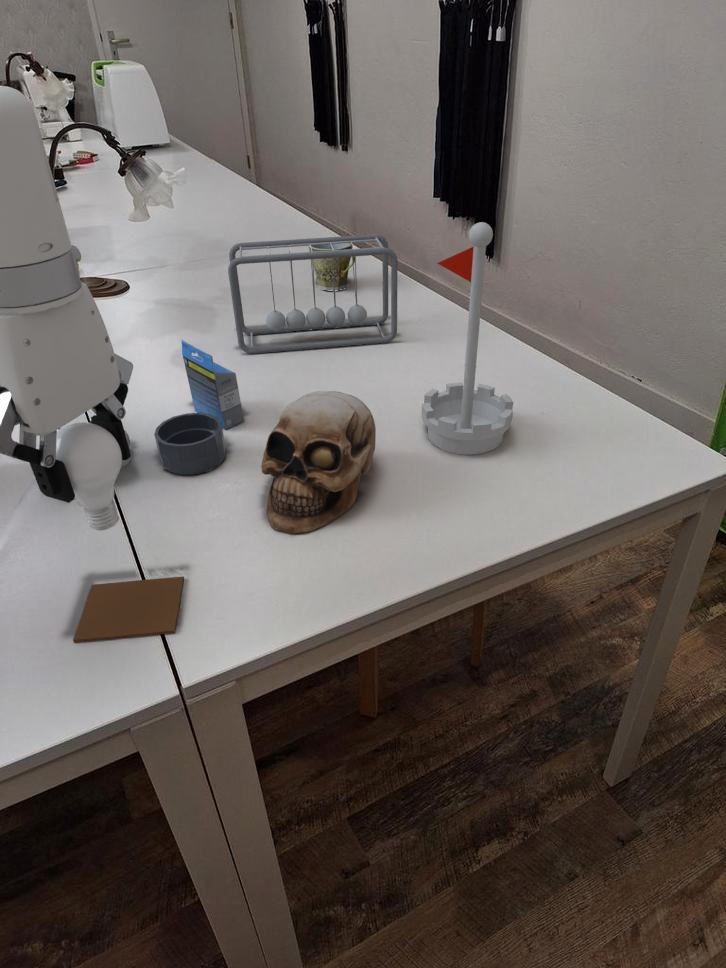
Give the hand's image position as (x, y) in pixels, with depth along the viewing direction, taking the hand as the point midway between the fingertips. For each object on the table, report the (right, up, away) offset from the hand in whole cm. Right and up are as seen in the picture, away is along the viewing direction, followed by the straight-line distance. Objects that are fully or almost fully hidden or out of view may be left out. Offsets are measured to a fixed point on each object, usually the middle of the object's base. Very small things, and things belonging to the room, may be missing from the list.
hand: (88, 474), depth 59 cm
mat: (0, -14, +10) cm, 17 cm away
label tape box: (+2, +10, +44) cm, 45 cm away
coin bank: (+19, -2, +27) cm, 33 cm away
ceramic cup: (+19, +45, +93) cm, 105 cm away
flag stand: (+40, +6, +38) cm, 55 cm away
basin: (+1, +3, +34) cm, 34 cm away
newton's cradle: (+16, +28, +69) cm, 76 cm away
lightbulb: (0, -5, +4) cm, 6 cm away
